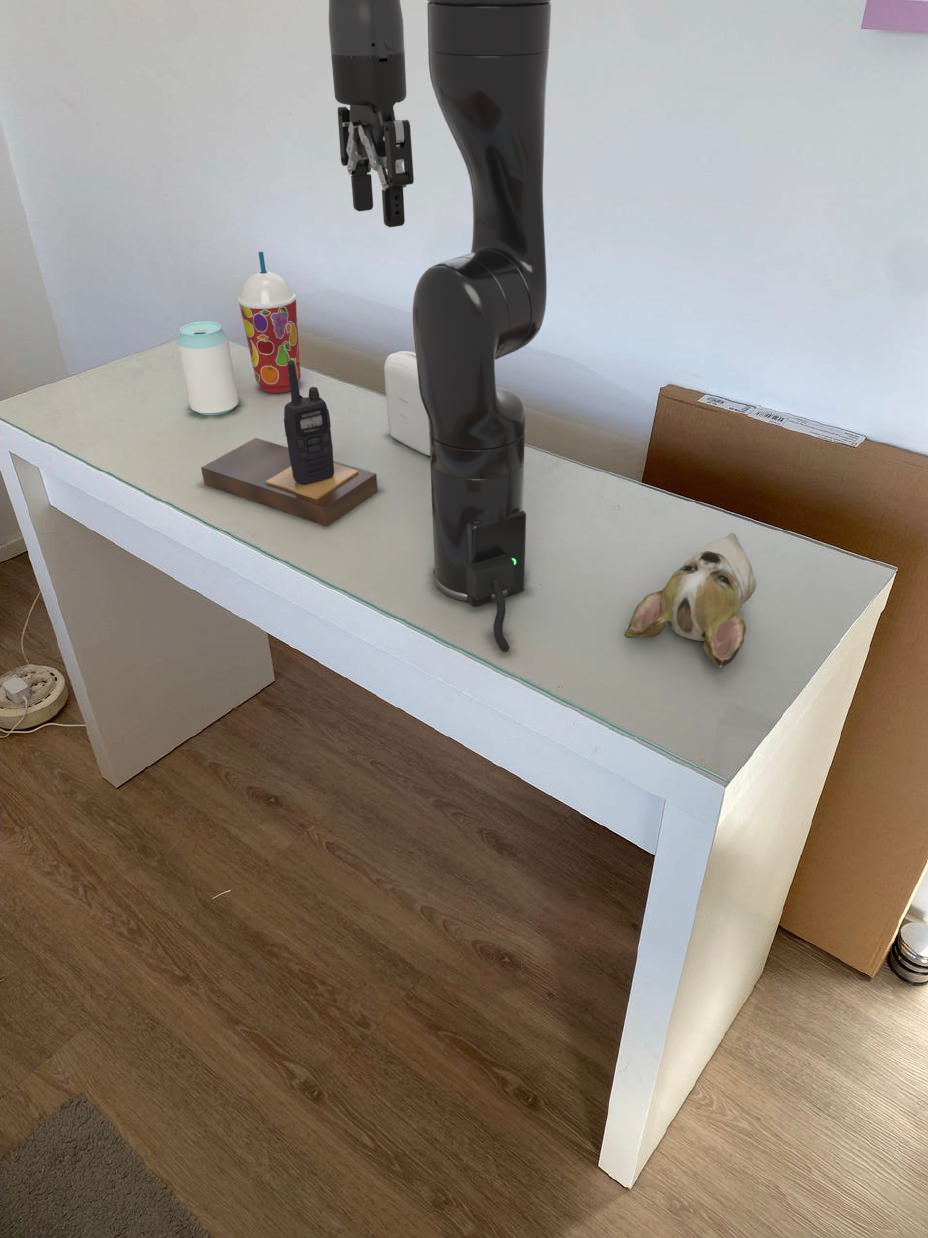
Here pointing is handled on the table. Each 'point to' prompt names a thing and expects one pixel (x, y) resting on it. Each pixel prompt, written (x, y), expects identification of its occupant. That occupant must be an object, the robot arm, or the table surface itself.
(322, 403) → the two-way radio
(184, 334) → the can
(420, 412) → the photo printer
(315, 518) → the walnut board
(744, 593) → the ceramic sculpture
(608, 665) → the table surface
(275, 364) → the smoothie
